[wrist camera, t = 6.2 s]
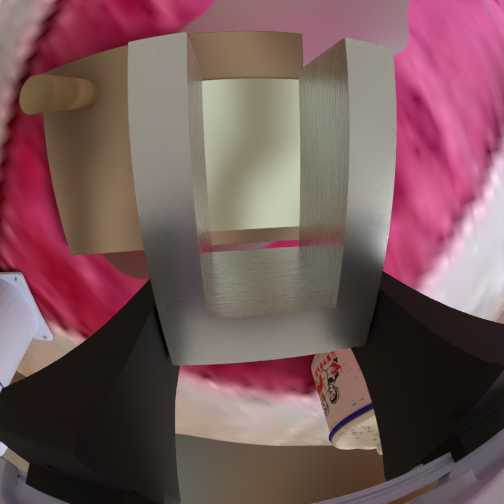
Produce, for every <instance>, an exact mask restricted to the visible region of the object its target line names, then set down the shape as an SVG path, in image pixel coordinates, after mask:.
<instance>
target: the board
mask: <svg viewBox="0 0 504 504" xmlns="http://www.w3.org/2000/svg"><path fill="white" fill-rule="evenodd" d="M188 36H189V39H190V42H191V45H192V47H193V50H194V53H195V55H196V58H197V61H198V64H199V66H200V69H201V72H202V97H203V122H204V143H205V161H206V177H207V191H208V204H209V217H210V229H211V240H212V245H222V244H237V243H252V242H268V241H284V240H299V220H300V110H299V80H298V72H299V71H300V70H301V69H302V68H303V49H302V34H299V33H287V32H269V31H228V32H210V33H199V34H188ZM19 102H20V107H21V109H22V111H23V112H24V113H25V114H28V115H32V114H39V113H43V120H44V131H45V140H46V147H47V155H48V161H49V167H50V173H51V178H52V183H53V188H54V193H55V198H56V202H57V206H58V210H59V214H60V218H61V222H62V226H63V229H64V233H65V236H66V240H67V243H68V246H69V250H70V253H71V256H73V255H85V254H98V253H111V252H124V251H137V250H144V245H143V240H142V234H141V228H140V222H139V216H138V209H137V202H136V194H135V187H134V178H133V169H132V159H131V147H130V134H129V116H128V45H126V46H122V47H118V48H114V49H110V50H107V51H103V52H100V53H96V54H93V55H90V56H87V57H84V58H81V59H78V60H75V61H72V62H70V63H67V64H64V65H62V66H59V67H57V68H54V69H52V70H50V71H47V72H45V73H43V74H42V75H34V76H32V77H30V78H29V79H28V80H27V81H26V82H25V84H24V85H23V87H22V90H21V93H20V98H19Z"/></svg>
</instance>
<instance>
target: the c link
mask: <svg viewBox="0 0 504 504" xmlns="http://www.w3.org/2000/svg"><path fill="white" fill-rule="evenodd" d="M298 80H299V110H300V220H299V247H284V248H269V249H254V250H240V251H225V252H212V240H211V229H210V217H209V204H208V191H207V177H206V161H205V143H204V122H203V97H202V72H201V69H200V66H199V64H198V61H197V58H196V55H195V53H194V50H193V47H192V45H191V42H190V39H189V36H188V34H187V32H183V33H175V34H168V35H162V36H156V37H151V38H146V39H141V40H136V41H132V42H128V116H129V134H130V147H131V159H132V169H133V178H134V187H135V194H136V202H137V209H138V216H139V222H140V228H141V234H142V240H143V245H144V250H145V256H146V261H147V266H148V271H149V276H150V280H151V285H152V289H153V294H154V298H155V302H156V306H157V310H158V314H159V318H160V322H161V326H162V329H163V333H164V337H165V340H166V344H167V347H168V351H169V354H170V357H171V361H172V364H173V365H206V364H226V363H241V362H253V361H264V360H273V359H282V358H290V357H298V356H305V355H312V354H319V353H325V352H331V351H337V350H343V349H348V348H353V347H358V346H363V345H365V343H366V340H367V336H368V332H369V328H370V325H371V321H372V317H373V313H374V308H375V304H376V300H377V295H378V291H379V286H380V281H381V276H382V271H383V265H384V259H385V254H386V247H387V241H388V234H389V227H390V219H391V210H392V201H393V190H394V178H395V161H396V88H395V72H394V60H393V50H392V48H389V47H385V46H381V45H377V44H373V43H369V42H365V41H360V40H356V39H351V38H343V39H342V40H341V41H339V42H338V43H336V44H335V45H333V46H332V47H331V48H329V49H328V50H326V51H325V52H324V53H322V54H321V55H320V56H318V57H317V58H316V59H314V60H313V61H311V62H310V63H309V64H308V65H306V66H305V67H304V68H302V69H301V70H300V71H299V72H298Z"/></svg>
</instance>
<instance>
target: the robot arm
mask: <svg viewBox="0 0 504 504" xmlns="http://www.w3.org/2000/svg"><path fill="white" fill-rule="evenodd" d="M32 339H39V340H48V341H51V340H52V339H53V335H52V333H51V331H50V330H49V328H48V326H47V324H46V322H45V320H44V319H43V317H42V315H41V313H40V311H39V309H38V307H37V305H36V303H35V301H34V298H33V296H32V294H31V292H30V290H29V288H28V285H27V283H26V281H25V278H24V276H23V274H22V273H21V272H2V273H0V504H179V503H180V502H181V501H180V493H179V485H178V476H177V465H176V448H175V398H176V388H177V382H178V375H179V369H180V365H173V364H172V361H171V357H170V354H169V351H168V347H167V344H166V340H165V337H164V333H163V329H162V326H161V322H160V318H159V314H158V310H157V306H156V302H155V298H154V294H153V289H152V285H151V280H150V279H149V280H148V281H147V282H146V284H145V285H144V286H143V287H142V288H141V289H140V290H139V291H138V292H137V293H136V294H135V295H134V296H133V297H132V299H131V300H130V301H129V302H128V303H127V304H126V305H125V306H124V307H123V308H122V309H120V310H119V311H118V312H117V313H116V314H115V315H114V316H113V317H112V318H111V319H110V320H109V321H108V322H107V323H106V324H105V325H104V326H103V327H101V328H100V329H99V330H98V331H97V332H95V333H94V334H93V335H92V336H91V337H89V338H88V339H87V340H85V341H84V342H83V343H81V344H80V345H79V346H77V347H76V348H74V349H73V350H71V351H70V352H69V353H67V354H66V355H64V356H63V357H61V358H60V359H58V360H57V361H55V362H53V363H52V364H50V365H48V366H47V367H45V368H43V369H41V370H40V371H38V372H36V373H34V374H32V375H30V376H28V377H26V378H24V379H22V380H19V381H17V382H15V383H13V384H11V385H9V384H10V382H11V379H12V377H13V375H14V373H15V371H16V369H17V367H18V365H19V363H20V361H21V359H22V357H23V355H24V353H25V352H26V350H27V348H28V346H29V344H30V342H31V341H32ZM351 350H352V352H353V354H354V356H355V359H356V361H357V363H358V365H359V367H360V369H361V372H362V374H363V377H364V379H365V382H366V385H367V388H368V392H369V395H370V398H371V402H372V406H373V409H374V413H375V417H376V421H377V426H378V431H379V436H380V442H381V448H382V455H383V463H384V475H385V478H386V481H387V482H384V483H382V484H379V485H376V486H373V487H370V488H367V489H364V490H361V491H358V492H355V493H352V494H348V495H345V496H341V497H338V498H334V499H330V500H326V501H321V502H317V503H312V504H386V503H389V502H392V501H394V500H396V499H398V498H401V497H403V496H405V495H408V494H410V493H412V492H414V491H416V490H418V489H420V488H422V487H424V486H426V485H428V484H430V483H432V482H434V481H436V480H437V479H439V478H440V479H439V481H438V482H437V486H436V487H435V489H433V490H431V491H429V492H427V493H425V494H423V495H421V496H419V497H417V498H415V499H413V500H411V501H409V502H407V503H405V504H504V324H501V323H496V322H493V321H489V320H485V319H482V318H479V317H475V316H472V315H470V314H467V313H464V312H461V311H459V310H456V309H454V308H451V307H449V306H446V305H444V304H442V303H440V302H438V301H436V300H433V299H431V298H429V297H427V296H425V295H423V294H421V293H420V292H418V291H416V290H414V289H412V288H410V287H409V286H407V285H405V284H403V283H402V282H400V281H398V280H397V279H395V278H393V277H392V276H390V275H388V274H387V273H385V272H383V271H382V276H381V281H380V286H379V291H378V295H377V300H376V304H375V308H374V313H373V317H372V321H371V325H370V328H369V332H368V336H367V340H366V343H365V345H363V346H358V347H353V348H351ZM7 448H10V449H11V450H12V451H14V452H15V453H16V454H18V455H19V456H20V457H22V458H23V459H25V460H26V461H27V462H29V463H30V464H29V469H28V473H26V472H24V471H22V470H20V469H18V467H17V466H15V465H14V464H12V463H11V462H9V461H8V460H6V459H5V458H3V457H1V456H2V455H3V454H4V452H5V451H6V449H7Z"/></svg>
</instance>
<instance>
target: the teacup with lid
mask: <svg viewBox="0 0 504 504" xmlns="http://www.w3.org/2000/svg"><path fill="white" fill-rule="evenodd" d="M311 370H312V374H313V377H314V380H315V384H316V387H317V390H318V394H319V397H320V400H321V404H322V407H323V410H324V414H325V417H326V420H327V424H328V427H329V431H330V434H329V440H330V442H331V443H332V444H333V445H334V446H335V447H337V448H339V449H355V448H361V449H373V448H377V451H378V453H379V454H381V455H382V448H381V442H380V436H379V431H378V426H377V421H376V417H375V413H374V409H373V406H372V402H371V398H370V395H369V392H368V388H367V385H366V382H365V379H364V377H363V374H362V372H361V369H360V367H359V365H358V363H357V361H356V359H355V356H354V354H353V352H352V350H351V348H348V349H343V350H337V351H331V352H325V353H319V354H316V355H315V356H314V358H313V361H312V365H311Z"/></svg>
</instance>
